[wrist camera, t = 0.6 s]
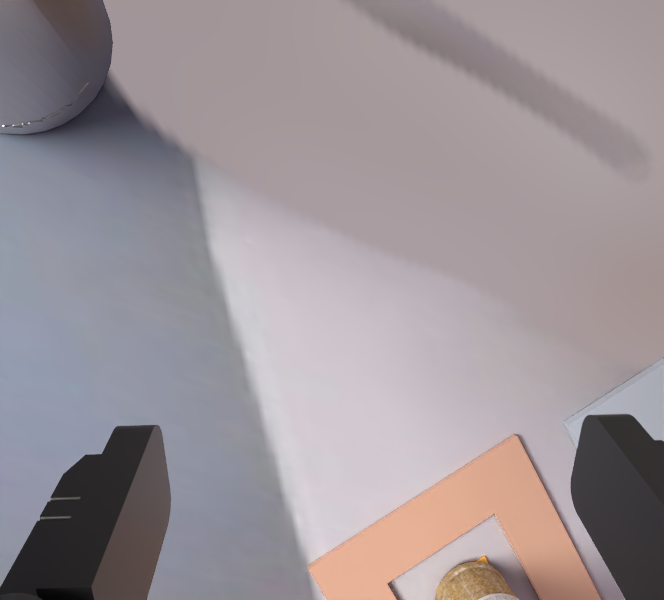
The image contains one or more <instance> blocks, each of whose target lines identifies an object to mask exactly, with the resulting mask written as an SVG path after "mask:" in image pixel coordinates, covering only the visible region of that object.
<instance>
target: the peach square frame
mask: <svg viewBox="0 0 664 600" xmlns="http://www.w3.org/2000/svg"><path fill="white" fill-rule="evenodd" d="M493 514H494V515H495V517H496V519H497V520H498V522H499V524H500V526H501V528H502V530H503V532H504V534H505V535H506V537H507V539H508V541H509V543H510V545H511V547H512V549H513V550H514V552H515V554H516V556H517V558H518V560H519V562H520V563H521V565H522V567H523V569H524V571H525V573H526V575H527V577H528V578H529V580H530V582H531V584H532V586H533V588H534V590H535V592H536V593H537V595H538V597H539V599H540V600H601V598H600V596H599V594H598V592H597V590H596V588H595V586H594V584H593V582H592V580H591V578H590V576H589V575H588V573H587V571H586V569H585V567H584V565H583V563H582V561H581V559H580V557H579V555H578V553H577V551H576V549H575V547H574V545H573V543H572V541H571V539H570V537H569V536H568V534H567V532H566V530H565V528H564V526H563V524H562V522H561V520H560V518H559V516H558V514H557V512H556V510H555V508H554V506H553V504H552V502H551V500H550V498H549V497H548V495H547V493H546V491H545V489H544V487H543V485H542V483H541V481H540V479H539V477H538V475H537V473H536V471H535V469H534V467H533V465H532V463H531V461H530V459H529V458H528V456H527V454H526V452H525V450H524V448H523V446H522V444H521V442H520V440H519V438H518V436H516V435H513V436H511V437H510V438H508V439H506V440H505V441H503V442H502V443H500V444H498V445H497V446H495V447H494V448H492V449H491V450H489V451H487V452H486V453H484V454H483V455H481V456H480V457H478V458H476V459H475V460H473V461H472V462H470V463H469V464H467V465H465V466H464V467H462V468H461V469H459V470H458V471H456V472H454V473H453V474H451V475H450V476H448V477H447V478H445V479H443V480H442V481H440V482H439V483H437V484H436V485H434V486H432V487H431V488H429V489H428V490H426V491H424V492H423V493H421V494H420V495H418V496H417V497H415V498H413V499H412V500H410V501H409V502H407V503H406V504H404V505H402V506H401V507H399V508H398V509H396V510H395V511H393V512H391V513H390V514H388V515H387V516H385V517H384V518H382V519H380V520H379V521H377V522H376V523H374V524H373V525H371V526H369V527H368V528H366V529H365V530H363V531H362V532H360V533H358V534H357V535H355V536H354V537H352V538H350V539H349V540H347V541H346V542H344V543H343V544H341V545H339V546H338V547H336V548H335V549H333V550H332V551H330V552H328V553H327V554H325V555H324V556H322V557H321V558H319V559H317V560H316V561H314V562H313V563H311V564H310V565H308V569H309V571H310V573H311V574H312V576H313V578H314V579H315V581H316V582H317V584H318V586H319V587H320V589H321V591H322V592H323V594H324V596H325V597H326V599H327V600H397V599H396V597H395V596H394V594H393V592H392V591H391V589H390V587H389V585H388V584H387V583H389V582H390V581H392V580H393V579H395V578H397V577H398V576H400V575H401V574H403V573H404V572H406V571H407V570H409V569H410V568H412V567H413V566H415V565H416V564H418V563H420V562H421V561H423V560H424V559H426V558H427V557H429V556H430V555H432V554H433V553H435V552H436V551H438V550H439V549H441V548H443V547H444V546H446V545H447V544H449V543H450V542H452V541H453V540H455V539H456V538H458V537H459V536H461V535H462V534H464V533H466V532H467V531H469V530H470V529H472V528H473V527H475V526H476V525H478V524H479V523H481V522H482V521H484V520H486V519H487V518H489V517H490V516H492V515H493ZM476 562H484V563H486V564H489V563H488V561H487V559H486V557H485V556H483V557H482V558H480V559H479V560H477V561H476ZM437 588H438V587H437Z"/></svg>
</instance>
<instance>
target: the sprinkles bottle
mask: <svg viewBox="0 0 664 600" xmlns="http://www.w3.org/2000/svg"><path fill="white" fill-rule="evenodd" d="M435 600H519V598H518V597H517V596H516V595H515V594H514V592H513V591H512V590H511V589H510V587H509V586H508V585H507V584H506V581H505V579H504V578H503V576H502V575H501V574H500V573H499V572H498V571H497V570H496V569H495V568H494V567H492V566H491V565H488V564H486V563H484V562H476V561H474V562H467V563H464V564H460V565H458V566H456V567H455V568H454V569H453V570H451V571H450V572H448V573H447V574H446V576H445V577H444V578H443V580H442V581H441V583H440V585H439V586H438V588H437V591H436V598H435Z"/></svg>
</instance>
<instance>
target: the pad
mask: <svg viewBox="0 0 664 600" xmlns="http://www.w3.org/2000/svg"><path fill="white" fill-rule="evenodd" d="M602 414H630V415H632V416H633V417H635V418H636V420H637V421H638V422H639V423H640V424H641V425H642V427H643V428H644V429H645V430H646V431H647V432H648V433H649V435H650V436H651V437H652V438H653V439H654V440H662V441H664V358H662V359H661V360H659V361H658V362H656V363H654V364H653V365H651V366H650V367H648V368H647V369H645V370H644V371H642V372H640V373H639V374H637V375H636V376H634V377H633V378H631V379H629V380H628V381H626V382H625V383H623V384H622V385H620V386H618V387H617V388H615V389H614V390H612V391H611V392H609V393H608V394H606V395H604V396H603V397H601V398H600V399H598V400H597V401H595V402H593V403H592V404H590V405H589V406H587V407H586V408H584V409H583V410H581V411H579V412H578V413H576V414H575V415H573V416H572V417H570V418H568V419H567V420H565V421H564V422H563V423H564V425H565V427H566V429H567V431H568V433H569V435H570V437H571V439H572V441H573V443H574V445H575V447H576V449H577V447H578V442H579V437H580V432H581V427H582V423H583V421H584V419H585V417H586V416H588V415H602Z"/></svg>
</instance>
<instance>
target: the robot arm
mask: <svg viewBox="0 0 664 600" xmlns="http://www.w3.org/2000/svg"><path fill="white" fill-rule="evenodd" d="M112 44H113V42H112V33H111V25H110V20H109V18H108V14H107V12H106V9H105V6H104V3H103V0H0V133H4V134H30V133H37V132H44V131H47V130H49V129H52V128H55V127H57V126H60V125H63V124H65V123H66V122H68V121H69V120H71V119H72V118H74V117H75V116H77V115H79V114H80V113H81V112H82V111H83V110H84V109H85V108H86V107H87V106H88V105H89V104H90V103H91V102H92V101H93V100H94V99H95V97H96V95H97V94H98V92H99V90H100V89H101V87H102V85H103V84H104V82H105V79H106V76H107V73H108V70H109V67H110V64H111V55H112ZM571 495H572V500H573V504H574V507H575V510H576V512H577V514H578V516H579V518H580V519H581V521H582V523H583V525H584V526H585V528H586V530H587V532H588V533H589V535H590V537H591V539H592V541H593V542H594V544H595V546H596V548H597V549H598V551H599V553H600V555H601V556H602V558H603V560H604V562H605V563H606V565H607V567H608V569H609V570H610V572H611V574H612V576H613V578H614V579H615V581H616V583H617V585H618V586H619V588H620V590H621V592H622V593H623V595H624V597H625V599H626V600H664V441H662V440H654V439H653V438H652V437H651V436H650V435H649V433H648V432H647V431H646V430H645V429H644V428H643V427H642V425H641V424H640V423H639V422H638V421H637V420H636V418H635V417H633V416H632V415H630V414H602V415H588V416H586V417H585V419H584V421H583V423H582V427H581V432H580V437H579V442H578V447H577V452H576V457H575V462H574V467H573V472H572V477H571ZM170 506H171V493H170V485H169V478H168V471H167V464H166V457H165V450H164V444H163V437H162V432H161V429H160V427H159V426H158V425H141V426H117V427H116V428H115V429H114V431H113V433H112V435H111V437H110V439H109V441H108V443H107V445H106V447H105V449H104V451H103V453H102V454H96V455H85V456H84V457H83V458H82V459H80V460H79V461H78V462H77V463H76V464H75V465H74V466H72V467H71V468H70V469H69V470H68V471H67V472H66V473H64V474H63V476H62V478H61V480H60V481H59V483H58V485H57V487H56V489H55V490H54V492H53V494H52V496H51V501H50V502H48V503H47V505H46V506H45V508H44V510H43V512H42V514H41V515H40V521H37V523H36V524H35V526H34V528H33V530H32V532H31V533H30V535H29V537H28V539H27V541H26V542H25V544H24V546H23V548H22V550H21V551H20V553H19V555H18V557H17V558H16V560H15V562H14V564H13V566H12V567H11V569H10V571H9V573H8V575H7V576H6V578H5V580H4V582H3V584H2V585H1V587H0V600H147V596H148V593H149V589H150V586H151V582H152V579H153V575H154V572H155V568H156V565H157V561H158V558H159V554H160V551H161V547H162V544H163V540H164V537H165V533H166V530H167V526H168V522H169V516H170Z"/></svg>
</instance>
